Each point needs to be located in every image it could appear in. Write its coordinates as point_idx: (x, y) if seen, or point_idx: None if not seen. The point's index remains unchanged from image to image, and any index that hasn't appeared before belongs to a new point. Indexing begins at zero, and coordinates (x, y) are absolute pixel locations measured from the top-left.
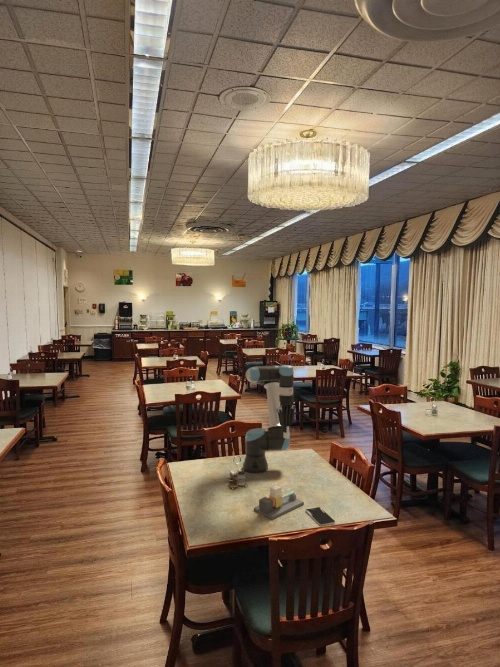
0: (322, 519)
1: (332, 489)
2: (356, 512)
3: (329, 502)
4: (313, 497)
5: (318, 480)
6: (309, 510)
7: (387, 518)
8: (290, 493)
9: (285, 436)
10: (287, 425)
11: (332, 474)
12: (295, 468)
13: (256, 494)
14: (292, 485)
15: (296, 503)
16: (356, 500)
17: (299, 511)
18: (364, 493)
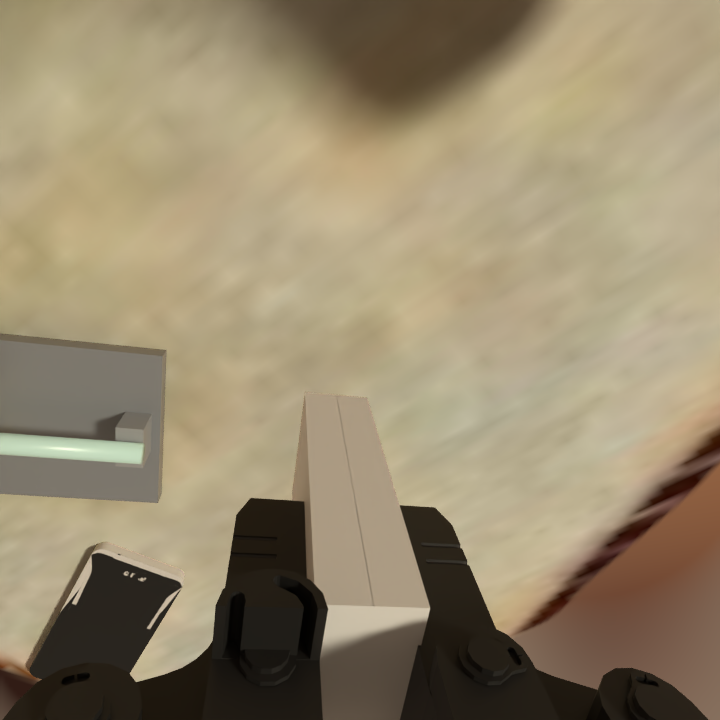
0: (78, 656)
1: (455, 504)
2: None
3: None
4: (282, 484)
5: (534, 374)
6: (102, 571)
7: None
8: (91, 460)
9: (297, 469)
10: (408, 714)
11: (677, 390)
12: (665, 98)
13: (8, 156)
14: (348, 282)
15: (103, 485)
16: None
17: (66, 524)
18: (507, 634)
